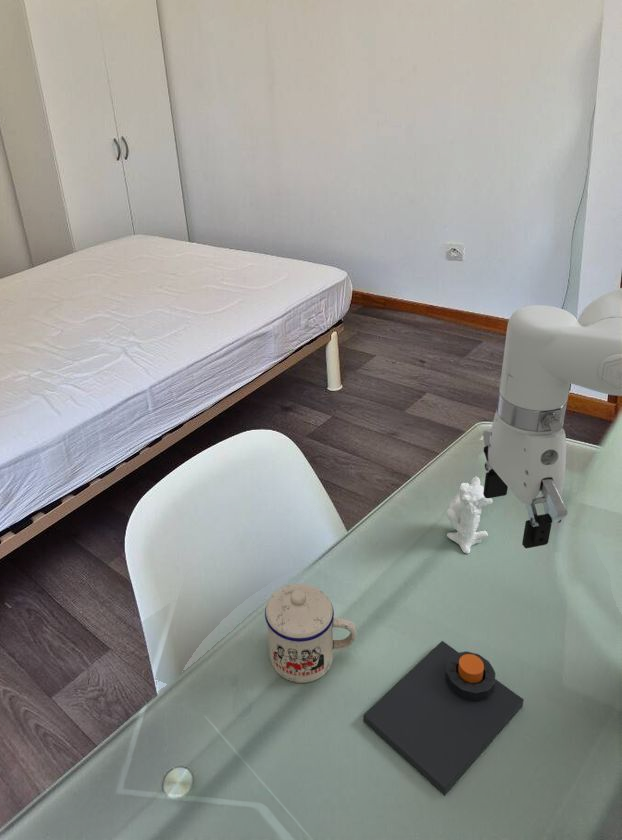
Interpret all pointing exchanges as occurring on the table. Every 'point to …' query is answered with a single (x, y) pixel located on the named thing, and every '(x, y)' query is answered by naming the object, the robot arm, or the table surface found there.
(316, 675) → the teacup with lid
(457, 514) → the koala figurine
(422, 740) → the black push button board
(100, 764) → the table surface
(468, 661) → the button
